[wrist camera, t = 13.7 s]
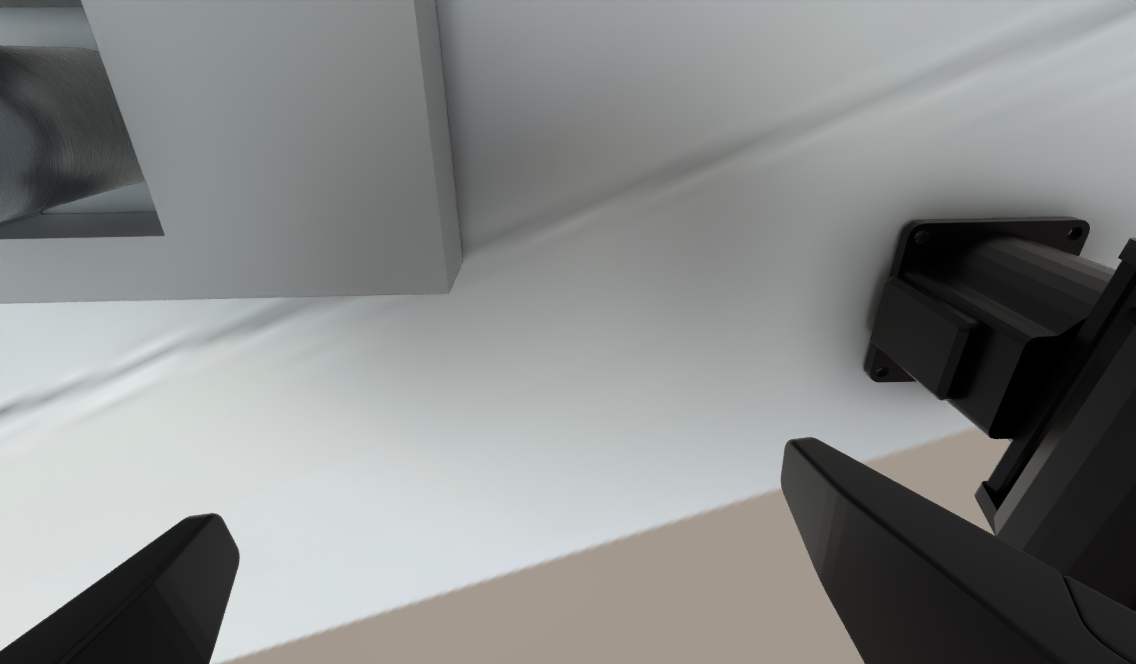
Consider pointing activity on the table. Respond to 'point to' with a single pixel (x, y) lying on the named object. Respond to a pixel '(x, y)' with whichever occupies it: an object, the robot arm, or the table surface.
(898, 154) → the table surface
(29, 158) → the gold capped metal post
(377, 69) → the board
